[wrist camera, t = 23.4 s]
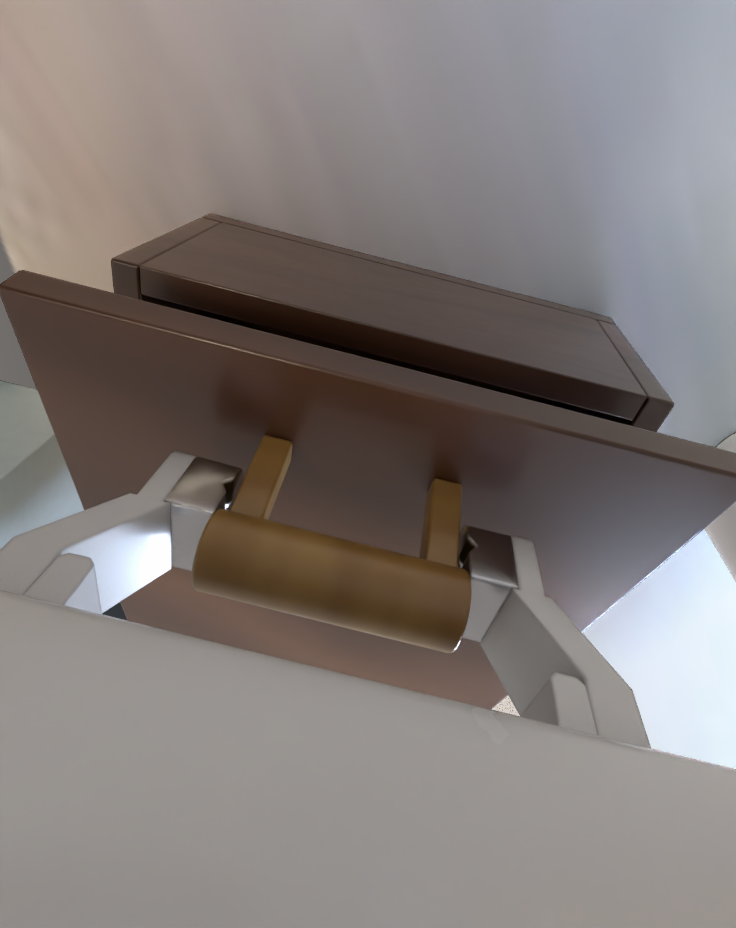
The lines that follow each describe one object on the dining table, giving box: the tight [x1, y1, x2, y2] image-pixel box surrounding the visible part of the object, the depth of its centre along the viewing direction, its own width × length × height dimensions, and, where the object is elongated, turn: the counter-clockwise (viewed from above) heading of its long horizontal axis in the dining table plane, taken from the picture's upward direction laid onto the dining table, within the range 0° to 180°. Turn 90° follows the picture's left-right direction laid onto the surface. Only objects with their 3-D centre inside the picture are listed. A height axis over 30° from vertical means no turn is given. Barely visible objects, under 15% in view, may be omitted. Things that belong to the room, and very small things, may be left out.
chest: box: [111, 214, 674, 432], centre depth 21 cm, size 17×16×7 cm
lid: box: [0, 270, 736, 710], centre depth 15 cm, size 17×16×5 cm
